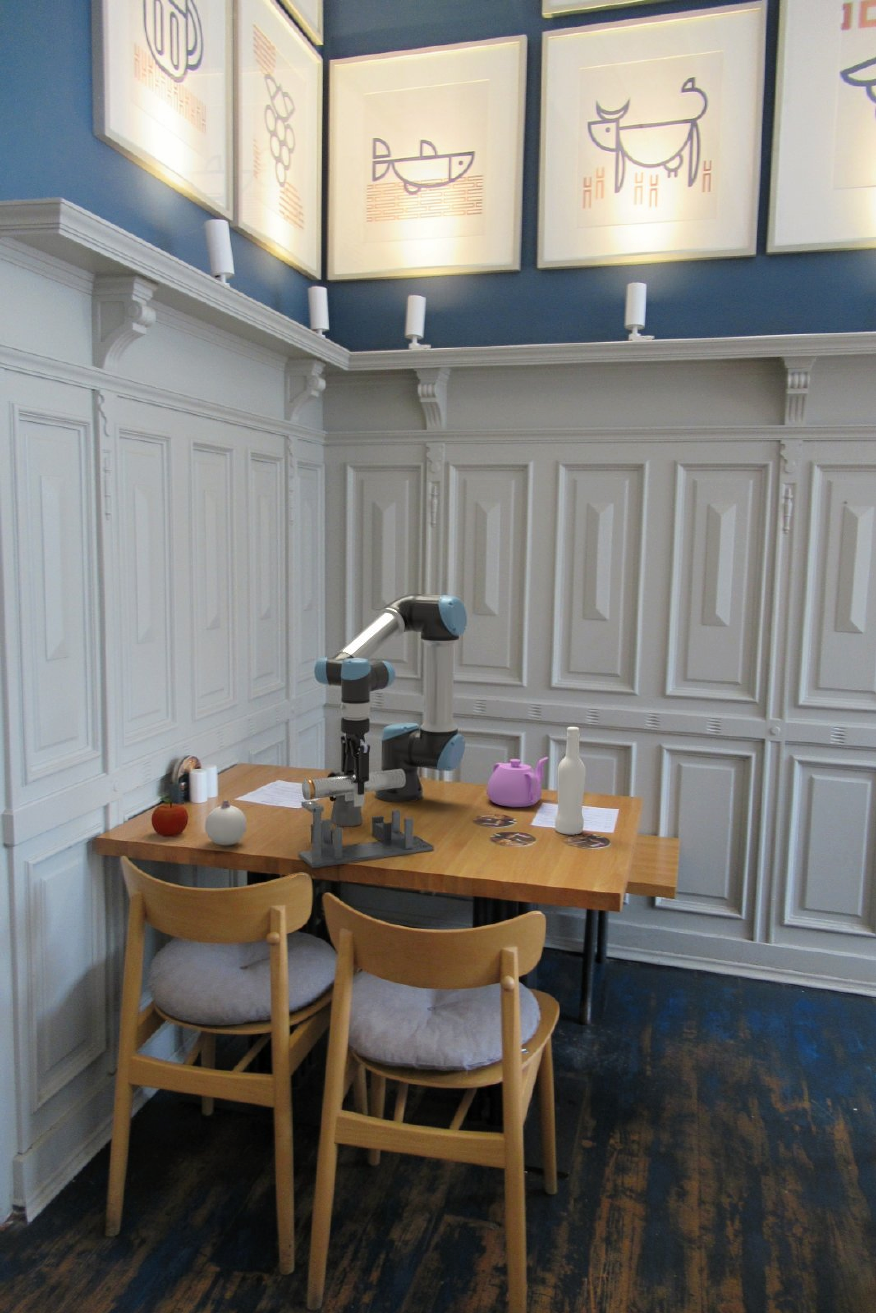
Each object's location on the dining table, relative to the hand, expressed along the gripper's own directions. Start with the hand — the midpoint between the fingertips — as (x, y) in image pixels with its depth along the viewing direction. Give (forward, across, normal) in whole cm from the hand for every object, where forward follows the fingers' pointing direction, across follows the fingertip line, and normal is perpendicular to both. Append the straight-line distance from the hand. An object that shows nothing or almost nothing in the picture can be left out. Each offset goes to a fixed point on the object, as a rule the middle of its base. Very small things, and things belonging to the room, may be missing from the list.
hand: (354, 802), depth 254 cm
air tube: (-3, 0, 0) cm, 3 cm away
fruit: (+10, -26, -43) cm, 51 cm away
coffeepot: (+11, -17, +4) cm, 20 cm away
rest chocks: (+11, 0, -1) cm, 11 cm away
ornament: (+10, -12, -32) cm, 35 cm away
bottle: (+12, +16, +59) cm, 63 cm away
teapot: (+12, -16, +64) cm, 67 cm away
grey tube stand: (+10, +10, -1) cm, 15 cm away
